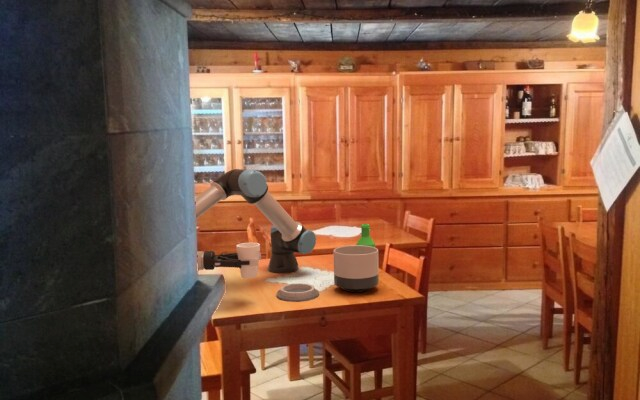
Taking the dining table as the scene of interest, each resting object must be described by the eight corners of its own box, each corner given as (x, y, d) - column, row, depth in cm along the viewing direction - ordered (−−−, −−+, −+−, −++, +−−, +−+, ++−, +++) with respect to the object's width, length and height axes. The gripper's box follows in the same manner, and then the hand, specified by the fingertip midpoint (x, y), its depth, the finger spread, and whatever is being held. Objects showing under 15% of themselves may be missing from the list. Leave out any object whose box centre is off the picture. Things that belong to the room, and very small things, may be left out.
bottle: (374, 278, 251) (373, 225, 248) (355, 278, 252) (354, 225, 249) (376, 273, 259) (375, 222, 256) (358, 273, 261) (357, 222, 258)
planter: (384, 294, 226) (384, 252, 224) (340, 298, 222) (339, 256, 220) (371, 282, 245) (370, 243, 243) (329, 285, 241) (328, 246, 239)
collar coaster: (268, 294, 229) (267, 288, 229) (301, 286, 241) (301, 279, 240) (293, 304, 215) (293, 297, 215) (327, 294, 227) (327, 288, 227)
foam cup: (265, 275, 219) (264, 244, 217) (247, 280, 212) (246, 248, 210) (250, 272, 225) (249, 241, 224) (233, 276, 218) (231, 245, 217)
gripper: (210, 263, 229) (262, 261, 229) (198, 276, 207) (256, 275, 207) (209, 245, 228) (262, 244, 228) (197, 257, 206) (256, 256, 206)
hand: (259, 259), depth 218 cm, fingers closed on foam cup, 9 cm apart
